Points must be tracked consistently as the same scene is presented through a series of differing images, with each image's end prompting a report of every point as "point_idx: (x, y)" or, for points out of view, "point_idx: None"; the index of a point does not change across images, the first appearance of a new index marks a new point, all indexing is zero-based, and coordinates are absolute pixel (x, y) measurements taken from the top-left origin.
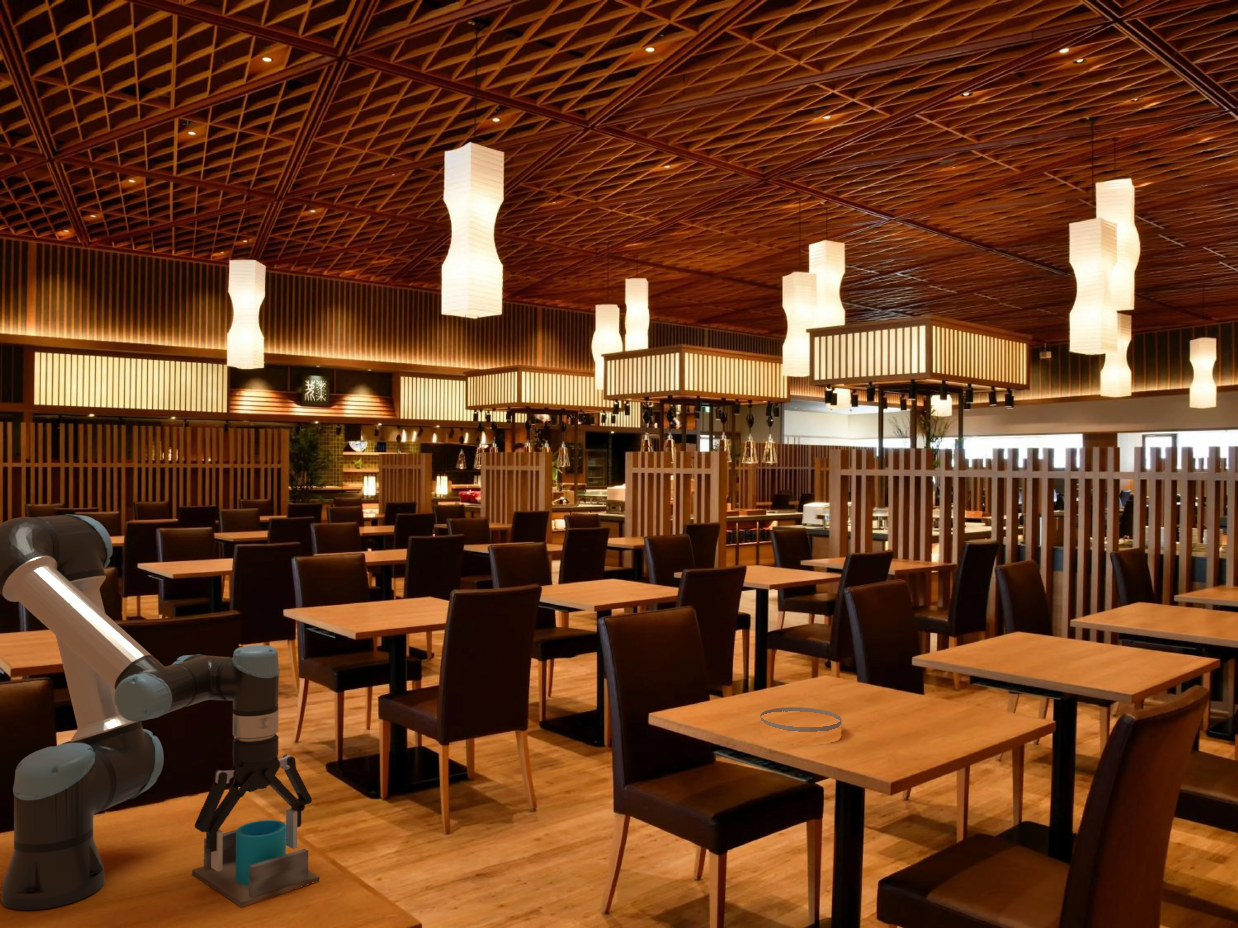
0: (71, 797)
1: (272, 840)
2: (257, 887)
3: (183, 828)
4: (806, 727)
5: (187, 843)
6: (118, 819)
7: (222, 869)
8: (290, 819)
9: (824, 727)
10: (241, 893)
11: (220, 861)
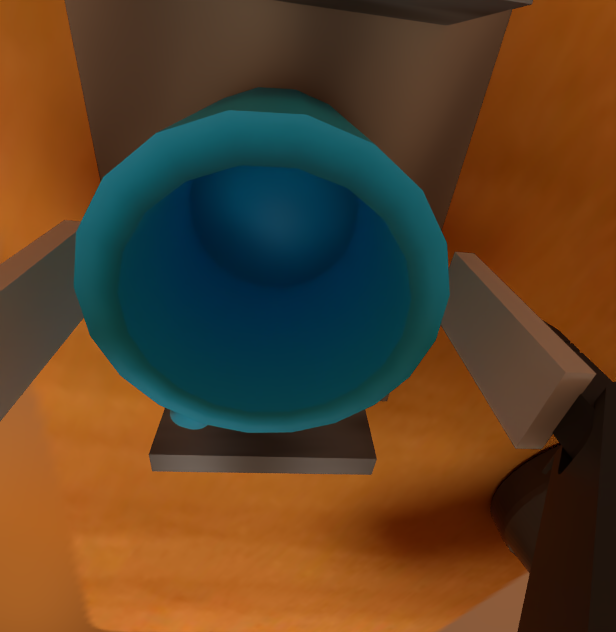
0: None
1: (278, 106)
2: None
3: (245, 565)
4: None
5: (279, 518)
6: (304, 621)
7: None
8: (5, 338)
9: None
10: (442, 89)
11: (483, 271)
